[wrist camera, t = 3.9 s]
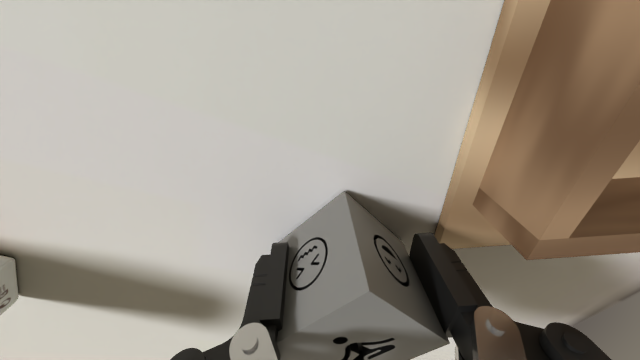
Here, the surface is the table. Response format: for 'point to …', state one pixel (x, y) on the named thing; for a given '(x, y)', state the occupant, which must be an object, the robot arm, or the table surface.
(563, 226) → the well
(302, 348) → the dice cube
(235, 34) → the table surface
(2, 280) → the skincare box
